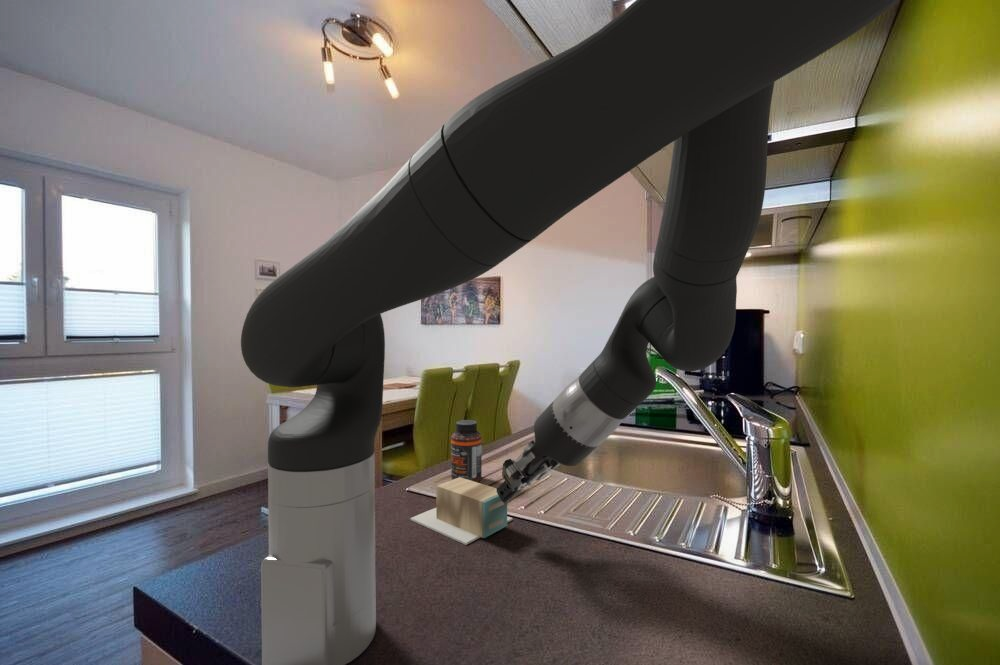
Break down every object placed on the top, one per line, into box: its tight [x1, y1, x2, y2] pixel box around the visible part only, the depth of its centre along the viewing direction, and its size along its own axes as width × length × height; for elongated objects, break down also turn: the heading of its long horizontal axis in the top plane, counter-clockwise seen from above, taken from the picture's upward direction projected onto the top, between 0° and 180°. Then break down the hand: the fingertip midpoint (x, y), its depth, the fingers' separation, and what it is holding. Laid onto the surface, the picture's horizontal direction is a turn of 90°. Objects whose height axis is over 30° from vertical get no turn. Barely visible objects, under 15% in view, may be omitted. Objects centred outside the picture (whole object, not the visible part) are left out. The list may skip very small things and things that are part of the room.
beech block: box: [435, 477, 508, 539], centre depth 64 cm, size 5×5×10 cm
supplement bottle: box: [450, 419, 483, 483], centre depth 83 cm, size 6×6×11 cm
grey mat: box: [410, 507, 513, 546], centre depth 66 cm, size 12×10×1 cm
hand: (503, 495), depth 60 cm, fingers closed
